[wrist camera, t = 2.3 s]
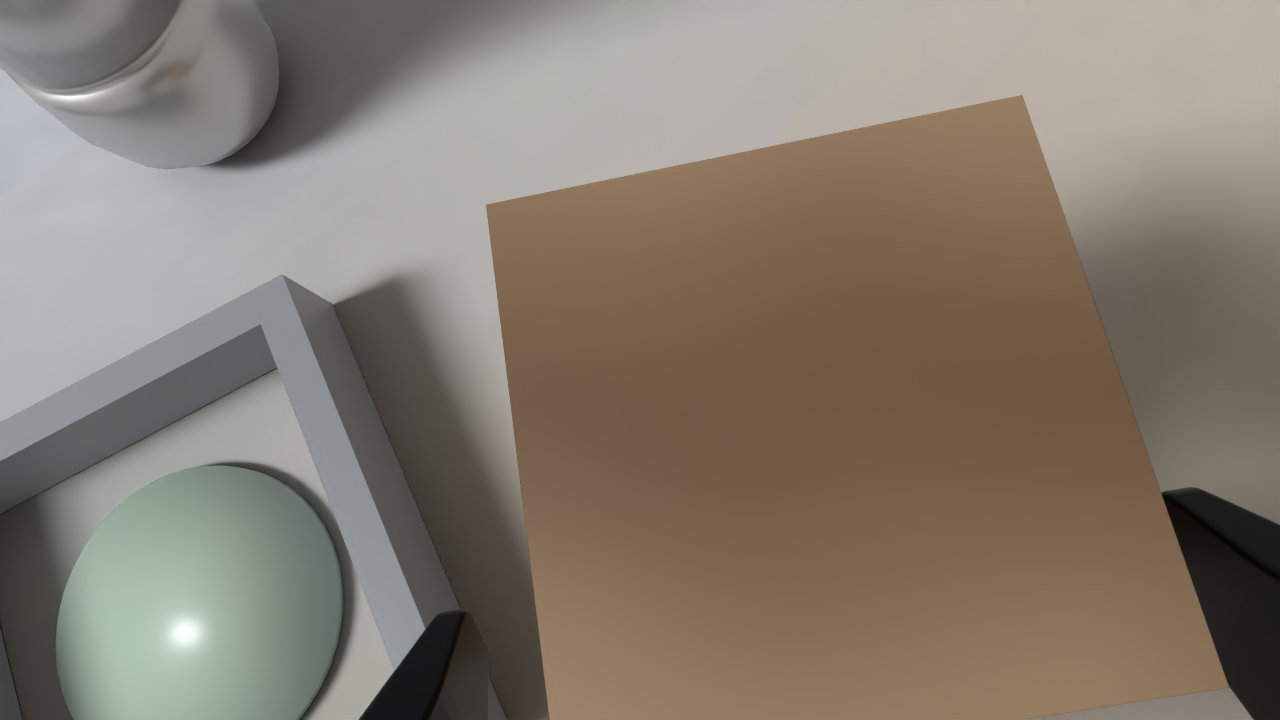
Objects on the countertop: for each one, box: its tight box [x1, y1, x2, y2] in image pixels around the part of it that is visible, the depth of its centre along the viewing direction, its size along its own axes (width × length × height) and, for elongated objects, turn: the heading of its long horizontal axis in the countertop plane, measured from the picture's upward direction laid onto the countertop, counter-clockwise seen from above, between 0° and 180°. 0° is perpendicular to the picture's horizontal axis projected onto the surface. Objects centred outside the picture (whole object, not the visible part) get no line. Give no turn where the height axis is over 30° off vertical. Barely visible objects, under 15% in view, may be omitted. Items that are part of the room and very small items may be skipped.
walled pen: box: [0, 275, 507, 720], centre depth 18 cm, size 13×13×2 cm
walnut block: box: [486, 95, 1229, 720], centre depth 12 cm, size 5×5×13 cm
